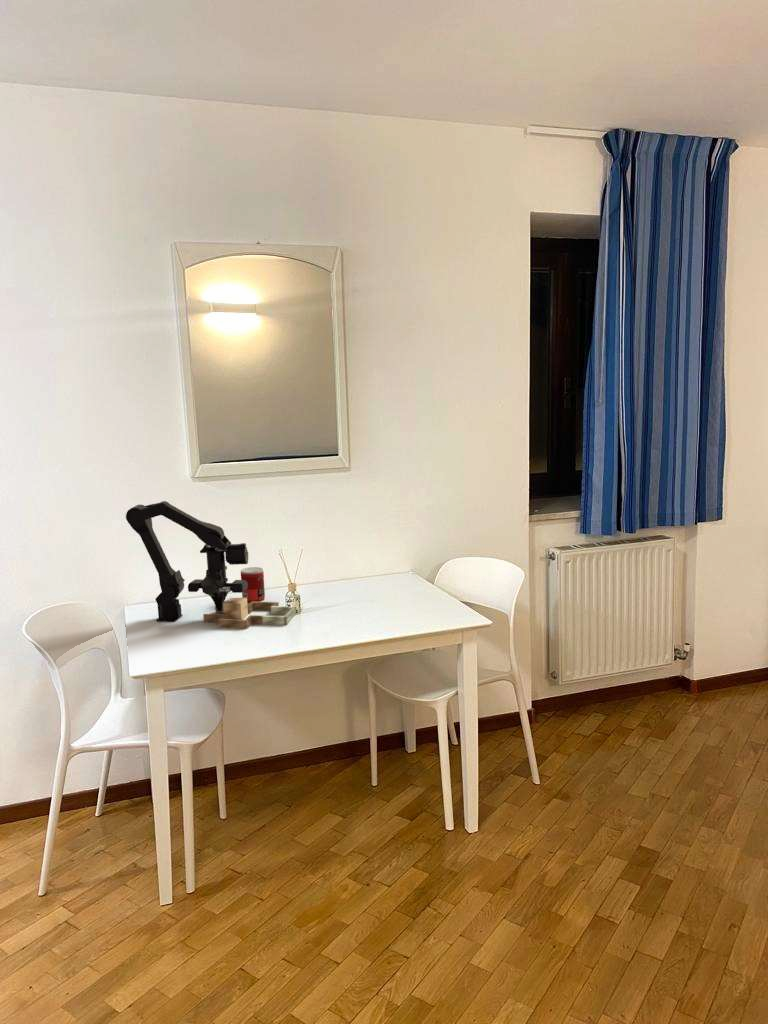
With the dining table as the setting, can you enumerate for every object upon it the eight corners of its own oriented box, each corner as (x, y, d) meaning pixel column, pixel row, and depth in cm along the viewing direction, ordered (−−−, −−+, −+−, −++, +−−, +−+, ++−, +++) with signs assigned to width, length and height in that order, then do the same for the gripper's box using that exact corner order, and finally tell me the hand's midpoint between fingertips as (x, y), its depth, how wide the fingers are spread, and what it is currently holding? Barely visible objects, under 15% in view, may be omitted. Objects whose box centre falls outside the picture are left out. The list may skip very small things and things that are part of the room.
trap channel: (198, 626, 242) (197, 619, 241) (221, 607, 261) (221, 600, 261) (282, 629, 237) (282, 621, 236) (300, 609, 256) (300, 602, 256)
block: (224, 620, 247) (223, 603, 246) (230, 614, 253) (229, 597, 252) (241, 621, 246) (240, 603, 245) (248, 615, 252) (247, 598, 251)
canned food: (263, 602, 266) (261, 572, 264) (240, 603, 266) (238, 572, 264) (266, 596, 273) (265, 566, 271) (244, 596, 273) (242, 567, 271)
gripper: (178, 571, 241) (182, 618, 244) (234, 571, 238) (238, 619, 241) (193, 562, 252) (197, 607, 255) (246, 563, 249) (250, 608, 252)
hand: (219, 611), depth 250 cm, fingers closed
